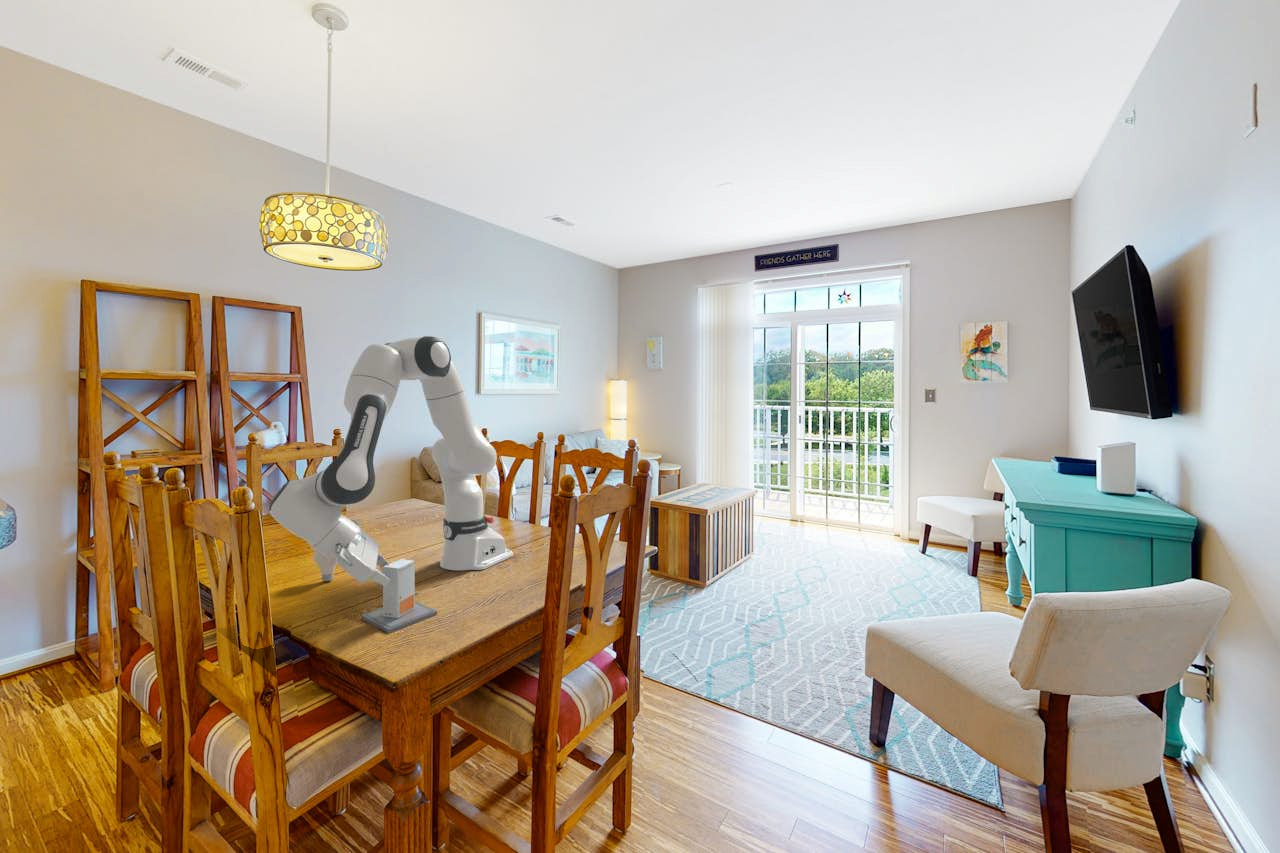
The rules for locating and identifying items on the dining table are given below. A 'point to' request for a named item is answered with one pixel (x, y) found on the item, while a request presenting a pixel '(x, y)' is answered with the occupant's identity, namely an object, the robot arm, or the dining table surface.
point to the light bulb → (325, 565)
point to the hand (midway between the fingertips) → (388, 575)
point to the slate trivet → (403, 621)
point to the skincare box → (399, 588)
